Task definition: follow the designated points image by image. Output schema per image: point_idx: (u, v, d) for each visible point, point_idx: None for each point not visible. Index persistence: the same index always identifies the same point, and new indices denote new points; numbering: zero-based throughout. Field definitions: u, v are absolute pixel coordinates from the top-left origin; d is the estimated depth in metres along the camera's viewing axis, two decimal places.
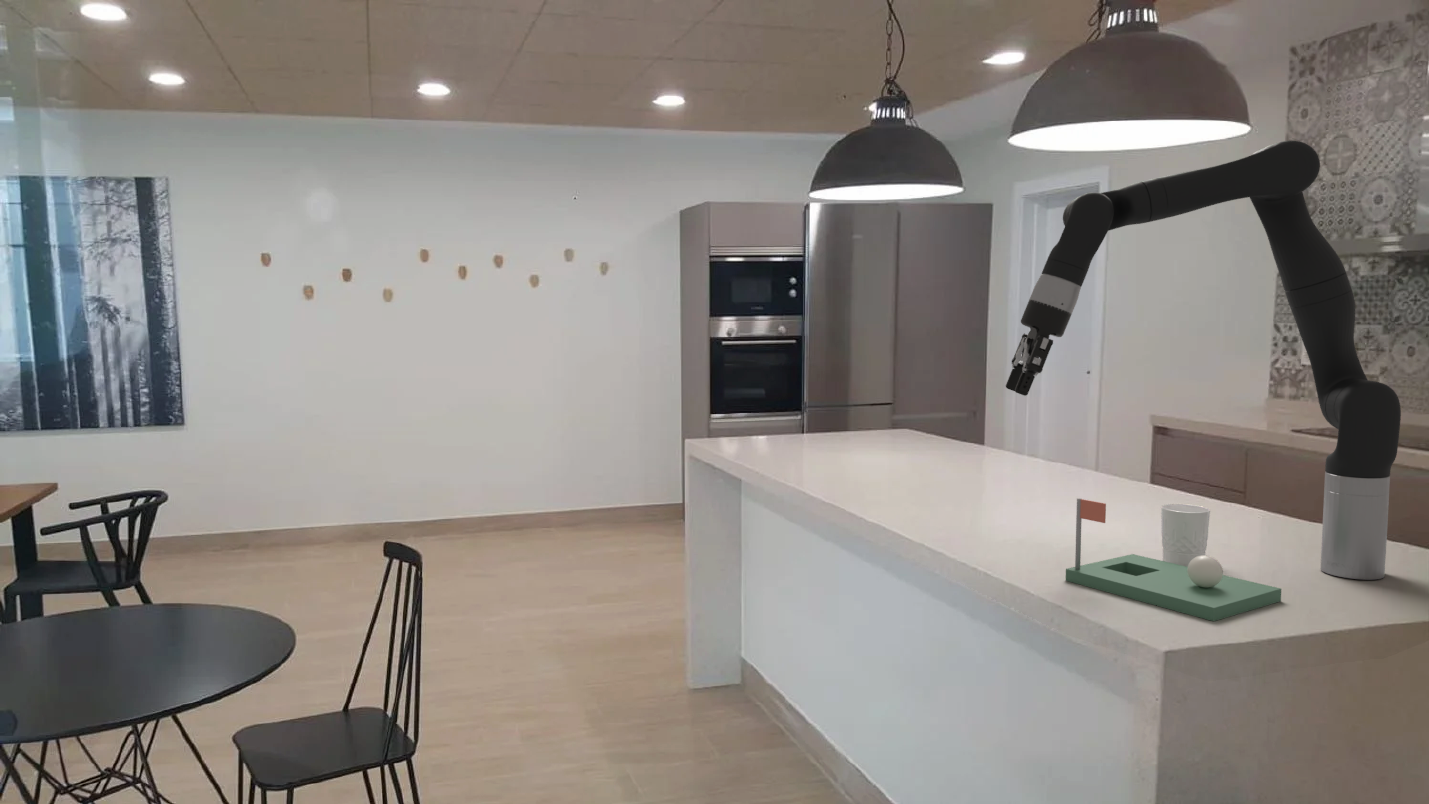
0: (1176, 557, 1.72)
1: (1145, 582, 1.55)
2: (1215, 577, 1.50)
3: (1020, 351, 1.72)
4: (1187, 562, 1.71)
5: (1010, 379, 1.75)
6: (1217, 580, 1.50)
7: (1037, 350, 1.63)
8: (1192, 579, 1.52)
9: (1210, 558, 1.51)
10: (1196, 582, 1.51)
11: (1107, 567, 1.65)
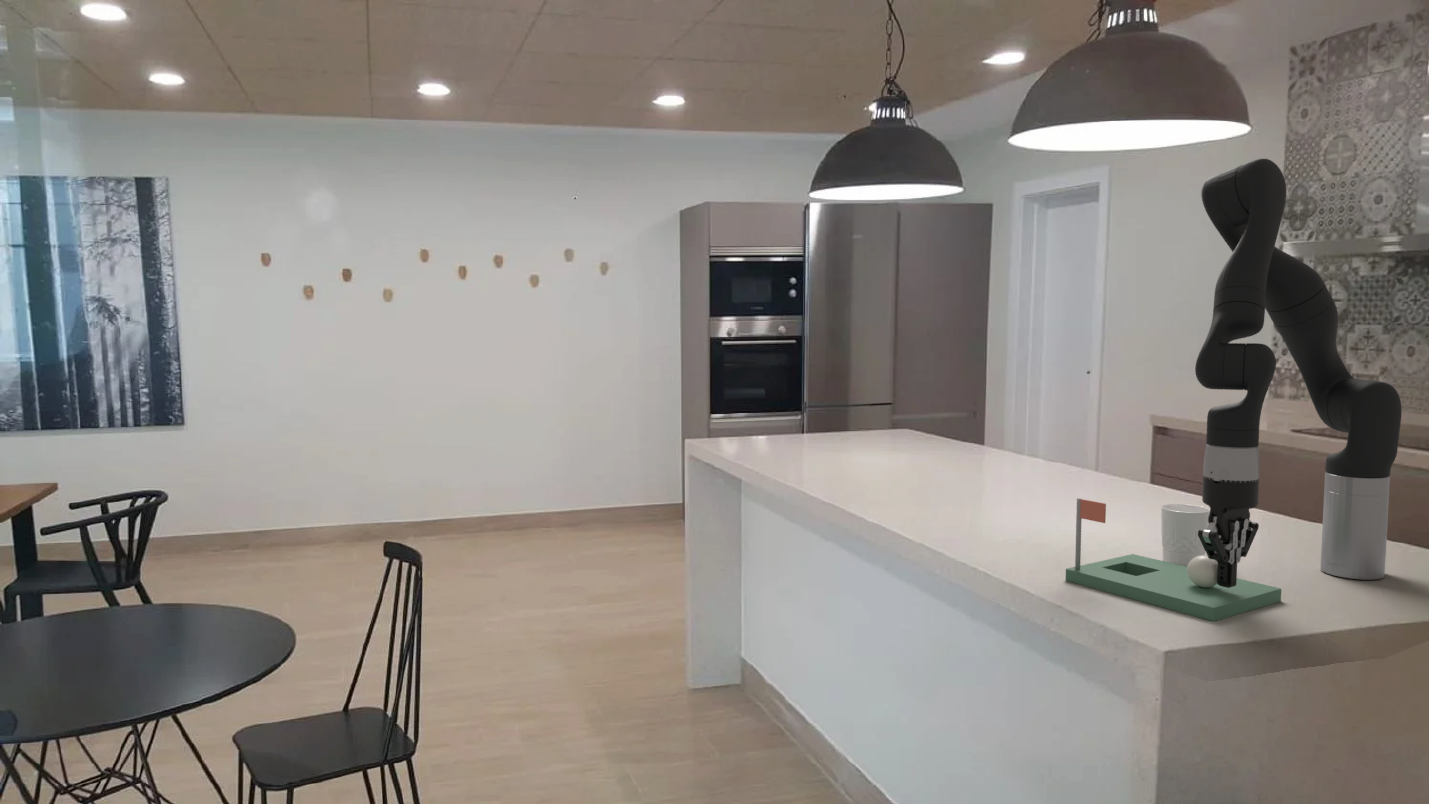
0: (1176, 557, 1.72)
1: (1145, 582, 1.55)
2: (1214, 576, 1.50)
3: None
4: (1187, 562, 1.71)
5: (1232, 576, 1.48)
6: (1216, 580, 1.50)
7: None
8: (1192, 579, 1.52)
9: None
10: (1196, 582, 1.51)
11: (1107, 567, 1.65)
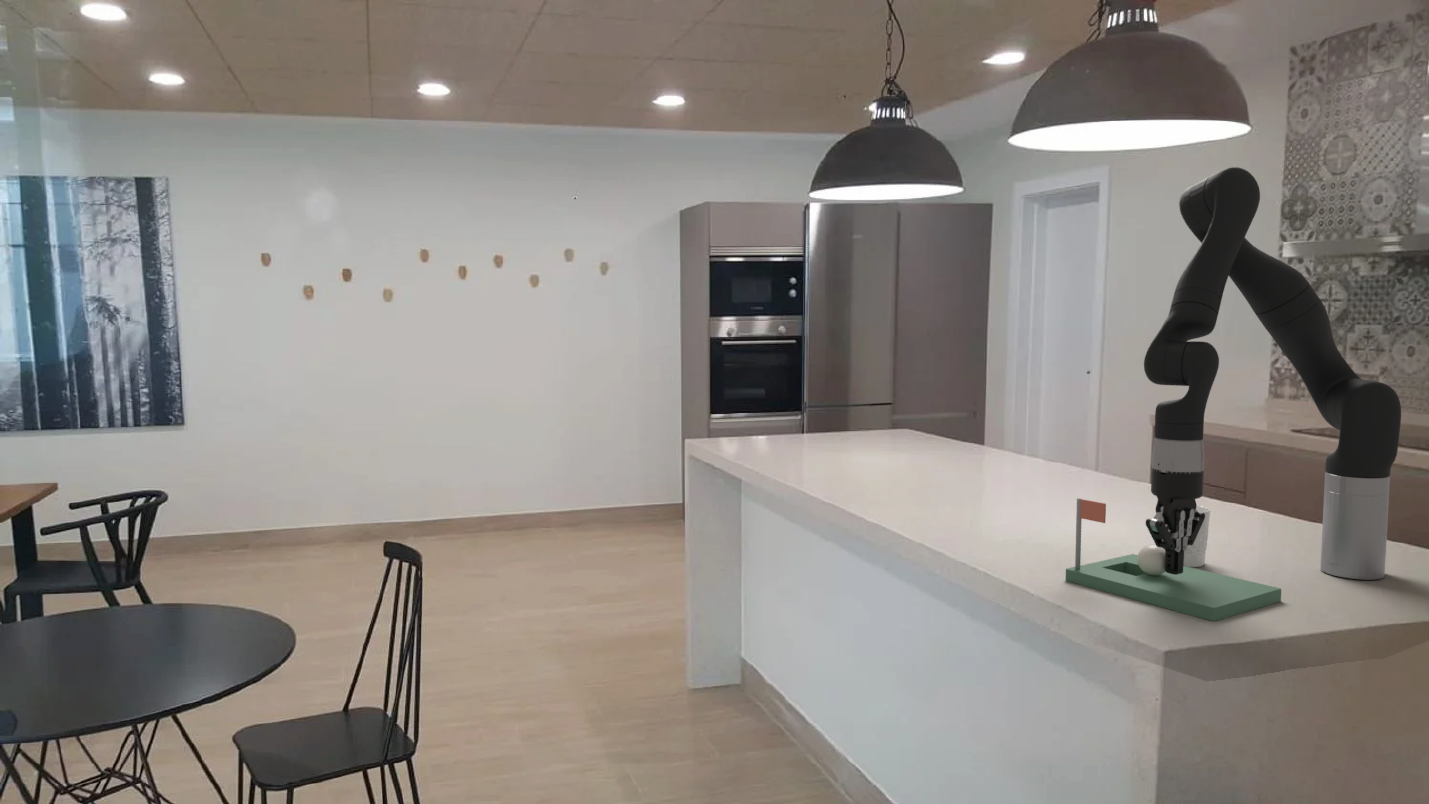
0: None
1: (1145, 582, 1.55)
2: None
3: None
4: (1187, 562, 1.71)
5: (1179, 564, 1.55)
6: (1142, 548, 1.60)
7: None
8: (1154, 558, 1.57)
9: None
10: (1151, 554, 1.57)
11: (1107, 567, 1.65)
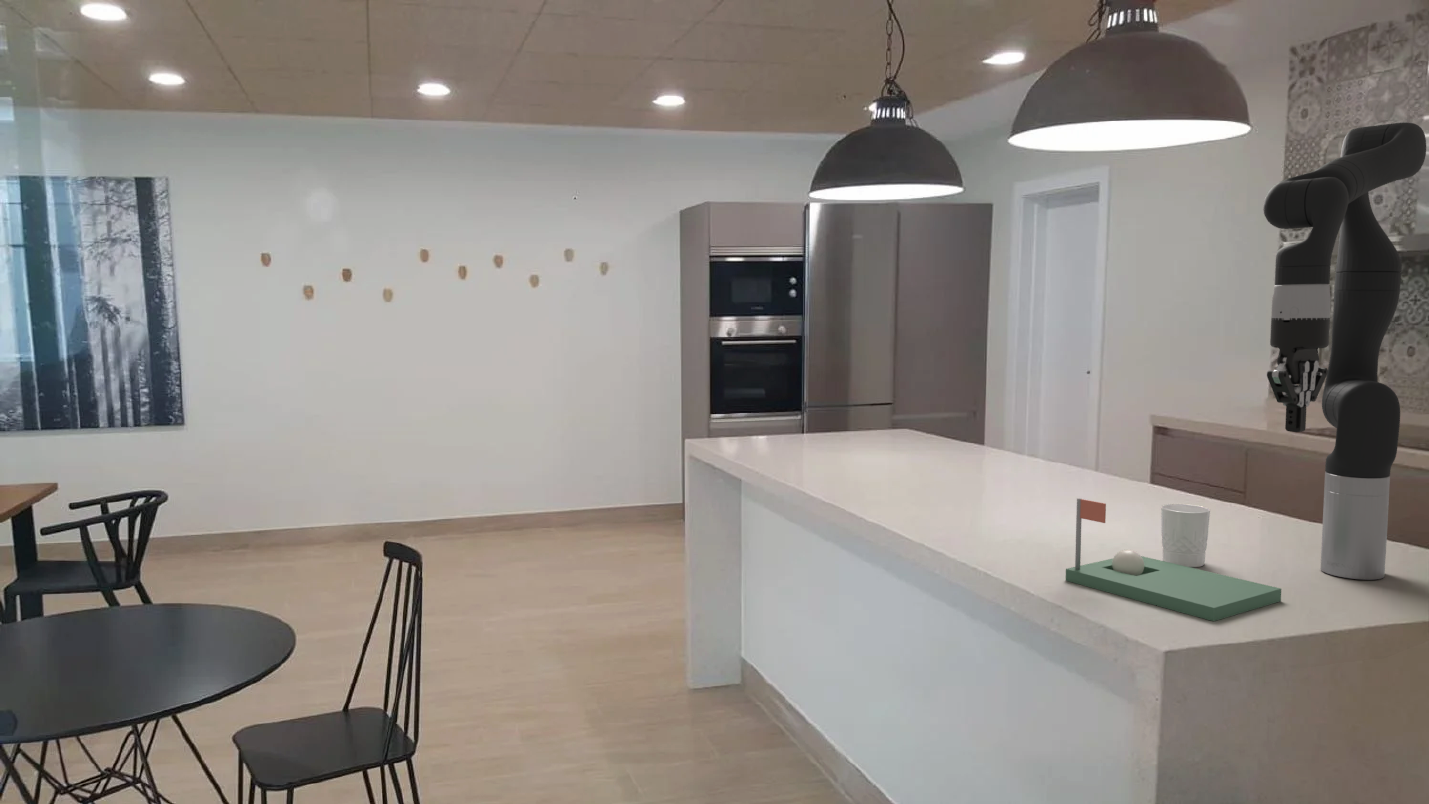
0: (1176, 557, 1.72)
1: (1145, 582, 1.55)
2: None
3: None
4: (1187, 562, 1.71)
5: None
6: None
7: None
8: (1113, 559, 1.63)
9: (1139, 571, 1.61)
10: (1112, 563, 1.64)
11: (1107, 567, 1.65)
